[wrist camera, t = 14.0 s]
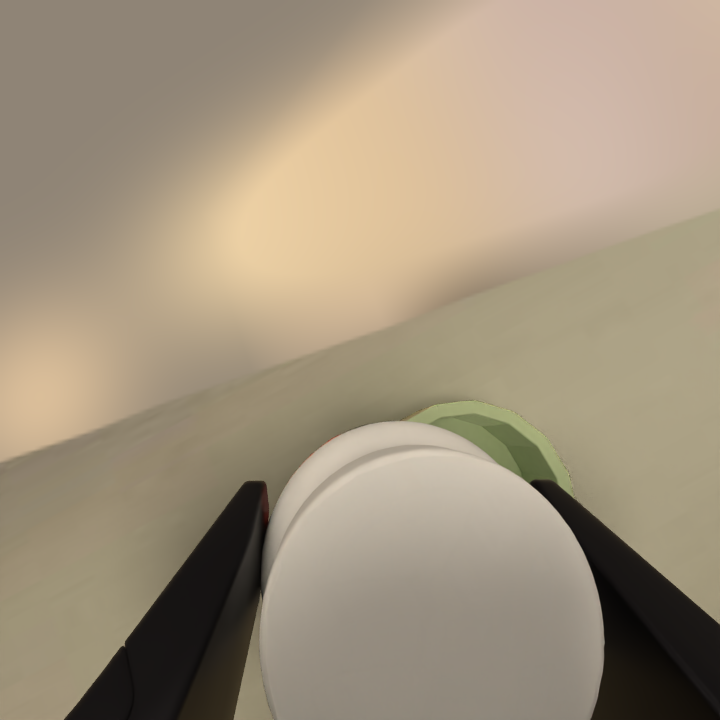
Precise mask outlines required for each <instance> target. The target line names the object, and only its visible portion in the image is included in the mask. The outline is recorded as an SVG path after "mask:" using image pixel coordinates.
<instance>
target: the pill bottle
mask: <svg viewBox="0 0 720 720" xmlns="http://www.w3.org/2000/svg"><path fill="white" fill-rule="evenodd" d="M261 594H262V599H263V604H262V612H261V619H260V633H259V653H260V663H261V671H262V677H263V683H264V688H265V692H266V696H267V700H268V704H269V708H270V710H271V713H272V716H273V718H274V720H591V717H592V714H593V711H594V708H595V705H596V702H597V698H598V693H599V687H600V682H601V678H602V673H603V665H604V644H605V641H604V626H603V618H602V610H601V605H600V600H599V595H598V591H597V588H596V584H595V581H594V577H593V574H592V572H591V569H590V566H589V564H588V561H587V559H586V557H585V554H584V552H583V550H582V548H581V546H580V545H579V543H578V541H577V539H576V537H575V536H574V534H573V532H572V530H571V529H570V527H569V526H568V525H567V524H566V522H565V521H564V520H563V518H562V517H561V515H560V514H559V513H558V512H557V510H556V509H555V508H554V507H553V506H552V505H551V504H550V503H549V501H548V500H547V499H546V498H545V497H544V496H542V495H541V494H540V493H539V492H538V491H537V490H536V489H535V488H533V487H532V486H531V485H530V484H528V483H527V482H526V481H525V480H524V479H522V478H521V477H519V476H518V475H516V474H515V473H513V472H511V471H510V470H508V469H506V468H504V467H502V466H501V465H499V464H498V463H496V462H495V461H494V460H493V459H492V458H491V457H490V456H489V455H488V454H487V453H486V452H484V451H483V450H482V449H480V448H479V447H478V446H476V445H475V444H473V443H472V442H470V441H468V440H467V439H465V438H463V437H461V436H459V435H457V434H455V433H453V432H451V431H448V430H446V429H443V428H440V427H436V426H433V425H429V424H424V423H418V422H410V421H385V422H377V423H372V424H367V425H363V426H360V427H357V428H354V429H351V430H348V431H346V432H344V433H342V434H340V435H338V436H335V437H334V438H332V439H330V440H329V441H328V442H326V443H325V444H323V445H322V446H321V447H320V448H318V449H317V450H316V451H315V452H314V453H312V454H311V455H310V456H309V457H308V458H307V459H306V460H305V461H304V462H303V463H302V465H301V466H300V467H299V468H298V469H297V470H296V472H295V473H294V474H293V476H292V477H291V478H290V480H289V481H288V483H287V484H286V486H285V488H284V489H283V491H282V493H281V495H280V496H279V499H278V501H277V503H276V505H275V507H274V509H273V512H272V514H271V516H270V519H269V522H268V525H267V528H266V533H265V538H264V543H263V549H262V560H261Z"/></svg>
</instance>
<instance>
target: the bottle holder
mask: <svg viewBox="0 0 720 720" xmlns="http://www.w3.org/2000/svg"><path fill="white" fill-rule="evenodd" d="M400 421H410V422H418V423H424V424H429V425H433V426H436V427H440V428H443V429H446V430H448V431H451V432H453V433H455V434H457V435H459V436H461V437H463V438H465V439H467V440H468V441H470V442H472V443H473V444H475V445H476V446H478V447H479V448H480V449H482V450H483V451H484V452H486V453H487V454H488V455H489V456H490V457H491V458H492V459H493V460H494V461H495V462H496V463H498V464H499V465H501V466H502V467H504V468H506V469H508V470H510V471H511V472H513V473H515V474H516V475H518V476H519V477H521V478H522V479H524V480H525V481H526V482H527V483H528V484H530V482H531V481H532V480H534V479H550V480H552V481H554V482H555V483H557V484H558V485H559V486H560V487H561V488H562V489H564V490H565V491H566V492H567V493H568V494H569V495H571V496H572V497H573V498H574V495H573V490H572V485H571V480H570V476H569V475H568V474H569V473H568V471H567V470H566V468H565V466H564V465H563V463H562V461H561V460H560V458H559V456H558V455H557V453H556V452H555V450H554V448H553V447H552V445H551V443H550V442H549V440H548V439H547V438H546V436H544V435H543V434H542V433H541V432H539V431H538V430H537V429H536V428H534V427H533V426H532V425H530V424H529V423H528V422H527V421H525V420H524V419H523V418H522V417H520V416H519V415H518V414H516V413H515V412H513V411H511V410H507V409H504V408H500V407H497V406H494V405H490V404H487V403H484V402H480V401H475V400H470V401H461V402H452V403H442V404H436V405H433V406H430V407H427V408H424V409H421V410H418V411H416V412H414V413H413V414H411V415H409V416H407V417H405V418H403V419H401V420H400Z"/></svg>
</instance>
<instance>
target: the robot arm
mask: <svg viewBox="0 0 720 720" xmlns="http://www.w3.org/2000/svg"><path fill="white" fill-rule="evenodd" d="M530 485H531V486H532V487H533V488H535V489H536V490H537V491H538V492H539V493H540V494H541V495H542V496H544V497H545V498H546V499H547V500H548V501H549V503H550V504H551V505H552V506H553V507H554V508H555V509H556V510H557V512H558V513H559V514H560V515H561V517H562V518H563V520H564V521H565V522H566V524H567V525H568V526H569V527H570V529H571V530H572V532H573V534H574V536H575V537H576V539H577V541H578V543H579V545H580V546H581V548H582V550H583V552H584V554H585V557H586V559H587V561H588V564H589V566H590V569H591V572H592V574H593V577H594V581H595V584H596V588H597V591H598V595H599V600H600V605H601V610H602V618H603V626H604V641H605V644H604V665H603V673H602V678H601V682H600V687H599V693H598V698H597V702H596V705H595V708H594V711H593V714H592V717H591V720H720V625H719V624H718V623H717V622H716V621H715V620H714V619H713V618H711V617H710V616H709V615H708V614H707V613H706V612H705V611H703V610H702V609H701V608H700V607H699V606H698V605H696V604H695V603H694V602H693V601H692V600H691V599H690V598H688V597H687V596H686V595H685V594H684V593H683V592H681V591H680V590H679V589H678V588H677V587H676V586H675V585H673V584H672V583H671V582H670V581H669V580H668V579H666V578H665V577H664V576H663V575H662V574H661V573H659V572H658V571H657V570H656V569H655V568H654V567H653V566H651V565H650V564H649V563H648V562H647V561H646V560H644V559H643V558H642V557H641V556H640V555H639V554H638V553H636V552H635V551H634V550H633V549H632V548H631V547H629V546H628V545H627V544H626V543H625V542H624V541H623V540H621V539H620V538H619V537H618V536H617V535H616V534H614V533H613V532H612V531H611V530H610V529H609V528H607V527H606V526H605V525H604V524H603V523H602V522H601V521H599V520H598V519H597V518H596V517H595V516H594V515H592V514H591V513H590V512H589V511H588V510H587V509H586V508H584V507H583V506H582V505H581V504H580V503H579V502H577V501H576V500H575V499H574V498H573V497H572V496H571V495H569V494H568V493H567V492H566V491H565V490H564V489H562V488H561V487H560V486H559V485H558V484H557V483H555V482H554V481H552V480H550V479H534V480H532V481H531V482H530ZM268 518H269V503H268V495H267V486H266V483H265V482H264V481H247V482H245V483H244V484H243V485H242V486H241V488H240V489H239V490H238V492H237V493H236V494H235V496H234V497H233V498H232V500H231V501H230V502H229V504H228V505H227V506H226V508H225V509H224V510H223V512H222V513H221V514H220V516H219V517H218V518H217V520H216V521H215V522H214V524H213V525H212V526H211V528H210V529H209V530H208V532H207V533H206V534H205V536H204V537H203V538H202V540H201V541H200V542H199V544H198V545H197V546H196V548H195V549H194V550H193V552H192V553H191V554H190V556H189V557H188V558H187V560H186V561H185V562H184V564H183V565H182V566H181V568H180V569H179V570H178V572H177V573H176V574H175V576H174V577H173V578H172V580H171V581H170V582H169V584H168V585H167V586H166V588H165V589H164V590H163V592H162V593H161V594H160V596H159V597H158V598H157V600H156V601H155V602H154V604H153V605H152V606H151V608H150V609H149V610H148V612H147V613H146V614H145V616H144V617H143V618H142V620H141V621H140V622H139V624H138V625H137V626H136V628H135V629H134V630H133V632H132V633H131V634H130V636H129V637H128V638H127V640H126V641H125V646H122V647H121V648H120V649H119V650H118V651H117V653H116V654H115V655H114V657H113V658H112V659H111V661H110V662H109V664H108V665H107V666H106V668H105V669H104V670H103V672H102V673H101V674H100V675H99V677H98V678H97V679H96V680H95V682H94V683H93V684H92V686H91V687H90V688H89V689H88V691H87V692H86V693H85V694H84V696H83V697H82V698H81V700H80V701H79V702H78V703H77V705H76V706H75V707H74V708H73V710H72V711H71V712H70V713H69V714H68V715H67V717H66V718H65V719H64V720H233V719H234V714H235V710H236V705H237V700H238V696H239V691H240V686H241V682H242V677H243V672H244V668H245V663H246V658H247V654H248V649H249V645H250V640H251V635H252V631H253V626H254V621H255V617H256V612H257V607H258V603H259V597H260V592H261V560H262V549H263V543H264V538H265V533H266V528H267V525H268Z"/></svg>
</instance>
